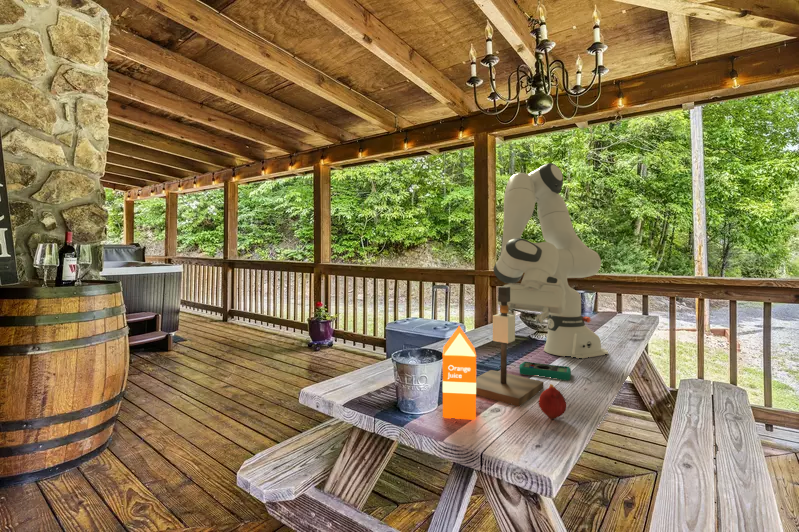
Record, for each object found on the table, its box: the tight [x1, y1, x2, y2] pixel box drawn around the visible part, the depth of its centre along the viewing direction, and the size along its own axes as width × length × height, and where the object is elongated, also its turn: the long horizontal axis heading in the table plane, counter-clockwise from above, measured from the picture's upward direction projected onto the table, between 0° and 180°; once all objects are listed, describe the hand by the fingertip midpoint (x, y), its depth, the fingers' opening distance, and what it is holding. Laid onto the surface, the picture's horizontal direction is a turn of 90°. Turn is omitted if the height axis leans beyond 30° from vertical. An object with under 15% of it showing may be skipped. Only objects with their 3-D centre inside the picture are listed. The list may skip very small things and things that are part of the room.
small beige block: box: [492, 312, 516, 344], centre depth 103 cm, size 4×4×7 cm
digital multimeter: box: [518, 361, 572, 381], centre depth 118 cm, size 7×15×3 cm, turn 63°
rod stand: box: [476, 285, 544, 408], centre depth 104 cm, size 16×16×28 cm
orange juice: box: [441, 325, 477, 421], centre depth 90 cm, size 8×9×20 cm
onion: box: [538, 383, 567, 420], centre depth 86 cm, size 6×6×8 cm
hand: (523, 319), depth 113 cm, fingers open, 8 cm apart
